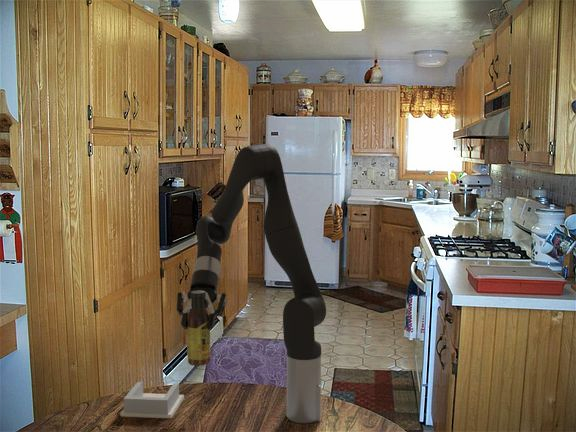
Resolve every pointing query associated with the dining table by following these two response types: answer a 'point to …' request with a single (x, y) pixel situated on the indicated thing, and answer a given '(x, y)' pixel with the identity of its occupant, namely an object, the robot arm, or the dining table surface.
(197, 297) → the sauce bottle
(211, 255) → the robot arm
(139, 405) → the white open tray
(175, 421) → the dining table surface
